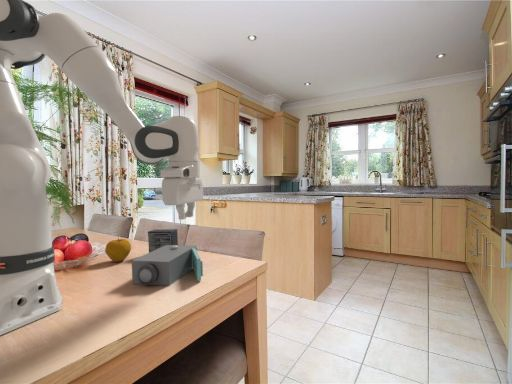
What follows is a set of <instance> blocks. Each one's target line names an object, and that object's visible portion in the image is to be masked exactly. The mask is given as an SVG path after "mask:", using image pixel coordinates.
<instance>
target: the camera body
mask: <svg viewBox="0 0 512 384" xmlns="http://www.w3.org/2000/svg"><path fill="white" fill-rule="evenodd" d="M192 248H195V249H196V251H197V250H198V248H197V245H182V244H178V245H165V246H163V247H161V248H158V249H156V250H154V251H152V252H150V253H149V252H148V253H144V254H142V255H141V256H139V257H136V258H135V259H132V260H131V276H132V277H131V278H132V280H131V281H132V284H133V285H145V286H150V285H152V286H168V287H169V286H171V285H173V284H174V283H175V282H176V281H178V280H179V279H180V278H182V277H183V276H184V275H186V274H187V273H188V272H190V271H191V270H192V269H193V261H192ZM197 252H198V251H197Z"/></svg>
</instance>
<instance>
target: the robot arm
mask: <svg viewBox="0 0 512 384" xmlns="http://www.w3.org/2000/svg"><path fill="white" fill-rule="evenodd" d="M45 56H47V57H48V58H49V59H50V60H51V61H53V63H55V65H56V66H57V67H58V68H59V69H60V71H61V72H62V73H63V74H64V75H65V77H67V78H68V80H70V82H71V83H72V84H74V85H75V86H76V88H78V89H79V90H80V91H81V92H82V93H83V94H84V95H86V96H87V97H88V98H89V99H90V100H91V101H93V102H94V104H96V105H97V106H98V107H99V108H100V109H102V111H103V112H104V113H105V114H106V115H107V116H108V117H109V118H110V119H111V120H112V121H113V123H114V124H115V125H116V126H117V127H118V128H119V130H120V131H121V132H122V133H123V135H124V136H125V138H126V139H127V140H128V141H129V143H130V146H131V151H132V153H133V156H134V157H135V158H136V160H138V162H140V163H142V164H143V165H148V166H154V165H157V164H159V163H161V162H163V160H164V159H167V160H168V165H167V166H166V167H165V168H163V169H161V170H160V178H161V179H162V180H161V194H162V195H161V196H162V203H164V205H165V206H175V209H176V212H177V213H178V220H182V221H183V220H187V218H192V217H194V211H195V210H194V209H195V207H196V202H202V201H204V187H203V181H202V178H200V177H201V172H200V170H201V169H200V158H199V149H200V142H199V139H200V138H199V132H198V127H197V124H196V122H195V121H194V120H192V119H191V118H189V117H187V116H183V115H182V116H180V115H173V116H170V117H169V118H168V119H167V120H165V121H162V122H159V123H155V124H151V125H144V124H143V122H142V121H141V119H139V118H138V116H137V115H136V114H135V112H134V111H133V110H132V109H131V107H130V106H129V104H128V103H127V101H126V99H125V96H124V94H123V91H122V87H121V84H120V79H119V76H118V73H117V71H116V70H115V68H114V66H113V63H112V62H111V61H110V59H109V57H107V55H106V54H105V53H104V51H103V50H102V48H101V47H100V46H99V45H98V44H97V42H95V40H94V39H93V38H92V37H91V36H90V35H89V33H87V32H86V31H85V30H84V29H83V27H81V26H80V25H79V24H78V23H77V22H75V20H73V19H72V18H71V17H70V16H68V15H66V14H64V13H60V12H59V13H58V12H52V13H48V14H45V15H39V14H38V12H37V10H36V8H35V7H34V6H33V5H32V4H30V3H28V2H26V1H24V0H0V336H2V335H5V334H7V333H10V332H11V331H14V330H16V329H19V328H21V327H23V326H26V325H28V324H30V323H33V322H35V321H37V320H39V319H42V318H45V317H47V316H49V315H51V314H53V313H55V312H58V311H60V310H62V302H63V301H64V299H63V297H62V294H61V292H60V288H59V285H58V282H57V277H56V274H55V273H56V272H55V267H54V262H55V261H56V260H55V259H56V257H55V248H54V246H53V243H52V242H53V239H52V222H51V213H50V209H49V204H48V198H47V197H48V195H47V188H46V186H47V185H48V183H49V182H50V180H51V177H52V169H51V165H50V163H49V161H48V159H47V156H46V154H45V151H44V150H43V146H42V144H41V143H40V140H39V138H38V136H37V133H36V131H35V128H34V126H33V125H32V123H31V119H30V118H29V115H28V113H27V110H26V108H25V104H24V102H23V99H22V97H21V96H22V95H20V91H19V89H18V85H17V84H16V81H15V79H14V76H13V73H12V69H13V70H18V69H21V68H24V67H27V66H28V67H29V66H33V65H36V64H39V63H40V62H42V61H43V60H44V58H45ZM186 206H187V208H186V210H185V207H186Z"/></svg>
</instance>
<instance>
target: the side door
mask: <svg viewBox="0 0 512 384" xmlns="http://www.w3.org/2000/svg"><path fill="white" fill-rule="evenodd" d="M192 261H193V268H192V269H193V272H194V274H195V277H196V280H197V281H198V282H199V281H202V277H204V274H203V272H204V271H203V260H201V257H200V255H199V253H198V251H196V249H195V248H192Z"/></svg>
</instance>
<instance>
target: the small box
mask: <svg viewBox="0 0 512 384" xmlns="http://www.w3.org/2000/svg"><path fill="white" fill-rule="evenodd" d="M147 236H148V238H147V239H148V253H150V252H152V251H154V250H156V249H158V248H161V247H163V246H165V245H179V241H178V239H179V238H178V237H179V236H178V229H177V228H171V229H170V228H168V229H167V228H166V229H165V228H164V229H163V228H162V229H161V228H160V229H151V230H149V231H147Z"/></svg>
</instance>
